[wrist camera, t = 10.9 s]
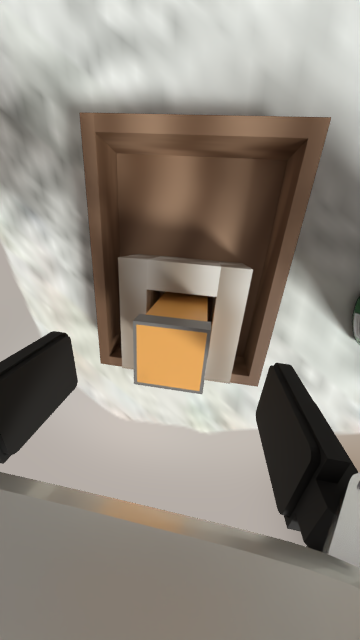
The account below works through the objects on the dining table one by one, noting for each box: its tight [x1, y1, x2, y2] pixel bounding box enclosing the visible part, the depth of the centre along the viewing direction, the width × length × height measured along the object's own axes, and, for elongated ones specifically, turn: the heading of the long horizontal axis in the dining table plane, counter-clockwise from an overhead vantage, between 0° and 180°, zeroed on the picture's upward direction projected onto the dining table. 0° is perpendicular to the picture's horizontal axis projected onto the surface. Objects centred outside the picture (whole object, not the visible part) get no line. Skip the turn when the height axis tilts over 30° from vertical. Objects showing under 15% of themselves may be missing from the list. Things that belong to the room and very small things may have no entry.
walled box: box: [80, 113, 331, 386], centre depth 18 cm, size 16×20×6 cm
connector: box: [133, 292, 211, 394], centre depth 16 cm, size 4×4×10 cm
